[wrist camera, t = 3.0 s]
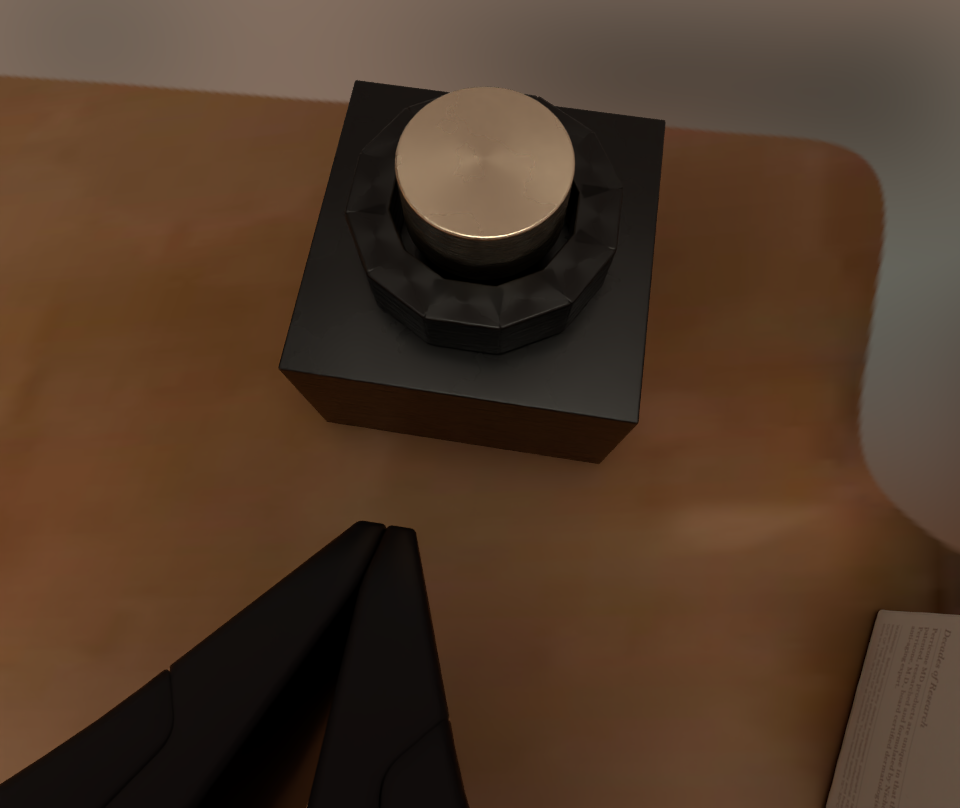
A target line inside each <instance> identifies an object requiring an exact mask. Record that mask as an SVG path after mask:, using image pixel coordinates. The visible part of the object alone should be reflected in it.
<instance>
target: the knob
mask: <svg viewBox="0 0 960 808" xmlns="http://www.w3.org/2000/svg"><path fill="white" fill-rule="evenodd" d="M395 174H396V180H397V185H398V190H399V195H400V200H401V204H402V209H403V214H404V219H405V224H406V227H407V230H408V233H409V235H410V237H411V239H412V241H413V243H414V244H415V246H416V247H417V249H418V250H419V251H420V252H421V253H422V254H423V255H424V256H425V257H426V258H427V259H428V260H429V261H431V262H432V263H433V264H435V265H436V266H438V267H439V268H441V269H443V270H445V271H447V272H449V273H451V274H454V275H457V276H460V277H464V278H469V279H477V280H493V279H500V278H505V277H509V276H512V275H515V274H518V273H520V272H523V271H525V270H526V269H528V268H530V267H532V266H533V265H535V264H536V263H537V262H539V261H540V260H541V259H542V258H543V257H544V256H545V255H546V254H547V253H548V252H549V251H550V250H551V249H552V247H553V246H554V245H555V243H556V241H557V239H558V237H559V236H560V233H561V230H562V228H563V224H564V219H565V215H566V210H567V206H568V202H569V197H570V193H571V188H572V184H573V179H574V175H575V153H574V149H573V145H572V142H571V140H570V137H569V135H568V133H567V131H566V129H565V128H564V126H563V124H562V123H561V122H560V121H559V119H558V118H557V117H556V116H555V115H554V114H553V113H552V112H551V111H550V110H549V109H548V108H547V107H545V106H544V105H543V104H541V103H540V102H538V101H536V100H535V99H533V98H531V97H529V96H527V95H524V94H522V93H519V92H516V91H512V90H509V89H504V88H499V87H472V88H466V89H461V90H457V91H453V92H451V93H448V94H445V95H443V96H441V97H439V98H437V99H435V100H433V101H432V102H430V103H429V104H427V105H426V106H424V107H423V108H422V109H421V110H420V111H419V112H417V113H416V115H415V116H414V117H413V118H412V119H411V120H410V121H409V123H408V124H407V126H406V127H405V129H404V131H403V133H402V135H401V137H400V139H399V142H398V145H397V148H396V154H395Z"/></svg>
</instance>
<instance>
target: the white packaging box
mask: <svg viewBox="0 0 960 808" xmlns="http://www.w3.org/2000/svg"><path fill="white" fill-rule="evenodd" d="M826 808H960V615H949V614H936V613H921V612H902V611H888V610H880V611H879V612H878V615H877V619H876V621H875V625H874V629H873V632H872V636H871V639H870V643H869V646H868V650H867V654H866V658H865V661H864V666H863V669H862V673H861V677H860V680H859V684H858V687H857V690H856V694H855V698H854V703H853V707H852V710H851V714H850V717H849V721H848V724H847V728H846V732H845V736H844V739H843V743H842V748H841V751H840V755H839V758H838V762H837V766H836V770H835V774H834V778H833V782H832V786H831V789H830V792H829V796H828V800H827V804H826Z"/></svg>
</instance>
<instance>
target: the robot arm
mask: <svg viewBox="0 0 960 808" xmlns="http://www.w3.org/2000/svg"><path fill="white" fill-rule="evenodd" d="M307 804H308V805H307ZM306 806H307V808H469V804H468V801H467V797H466V794H465V790H464V786H463V781H462V777H461V772H460V768H459V763H458V759H457V754H456V749H455V744H454V739H453V733H452V728H451V722H450V721H449V713H448V707H447V702H446V696H445V691H444V685H443V679H442V674H441V668H440V663H439V657H438V652H437V646H436V641H435V635H434V630H433V624H432V619H431V613H430V608H429V602H428V597H427V591H426V586H425V580H424V574H423V569H422V563H421V558H420V552H419V547H418V541H417V536H416V532H415V530H413V529H411V528H405V527H399V526H393V525H392V526H389V527H387V528H386V526H385V525H384V524H381V523H374V522H368V521H358V522H356V523H355V524H354V525H352V526H351V527H350V528H348V529H347V530H346V531H344V532H343V533H342V534H341V535H339V536H338V537H337V538H335V539H334V540H333V541H331V542H330V543H329V544H328V545H326V546H325V547H324V548H322V549H321V550H320V551H318V552H317V553H316V554H315V555H313V556H312V557H311V558H309V559H308V560H307V561H305V562H304V563H303V564H302V565H300V566H299V567H298V568H296V569H295V570H294V571H292V572H291V573H290V574H289V575H287V576H286V577H285V578H283V579H282V580H281V581H279V582H278V583H277V584H276V585H274V586H273V587H272V588H270V589H269V590H268V591H267V592H265V593H264V594H263V595H261V596H260V597H259V598H257V599H256V600H255V601H254V602H252V603H251V604H250V605H248V606H247V607H246V608H244V609H243V610H242V611H241V612H239V613H238V614H237V615H235V616H234V617H233V618H231V619H230V620H229V621H228V622H226V623H225V624H224V625H222V626H221V627H220V628H218V629H217V630H216V631H215V632H213V633H212V634H211V635H209V636H208V637H207V638H205V639H204V640H203V641H202V642H200V643H199V644H198V645H196V646H195V647H194V648H192V649H191V650H190V651H189V652H187V653H186V654H185V655H183V656H182V657H181V658H179V659H178V660H177V661H176V662H174V663H173V664H172V665H171V666H170V671H169V670H164V671H162V672H161V673H160V674H158V675H157V676H156V677H154V678H153V679H152V680H151V681H149V682H148V683H147V684H145V685H144V686H143V687H141V688H140V689H139V690H137V691H136V692H135V693H133V694H132V695H131V696H129V697H128V698H127V699H125V700H124V701H122V702H121V703H120V704H118V705H117V706H116V707H114V708H113V709H112V710H110V711H109V712H108V713H106V714H105V715H103V716H102V717H101V718H99V719H98V720H97V721H95V722H94V723H92V724H91V725H89V726H88V727H86V728H85V729H83V730H82V731H80V732H79V733H77V734H76V735H74V736H73V737H71V738H70V739H68V740H67V741H65V742H64V743H63V744H61V745H60V746H58V747H57V748H55V749H54V750H52V751H51V752H49V753H48V754H46V755H45V756H43V757H42V758H40V759H38V760H37V761H35V762H34V763H32V764H31V765H29V766H28V767H26V768H25V769H23V770H21V771H20V772H18V773H17V774H15V775H14V776H12V777H11V778H9V779H8V780H6V781H4V782H3V783H1V784H0V808H306Z"/></svg>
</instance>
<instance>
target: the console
mask: <svg viewBox="0 0 960 808" xmlns="http://www.w3.org/2000/svg"><path fill="white" fill-rule="evenodd" d="M448 93H450V92H442V91H435V90H427V89H419V88H412V87H404V86H396V85H389V84H380V83H373V82H365V81H358V80H356V81H355V83H354V87H353V91H352V95H351V98H350V102H349V106H348V110H347V113H346V117H345V121H344V125H343V128H342V132H341V136H340V139H339V143H338V147H337V151H336V154H335V158H334V162H333V166H332V169H331V173H330V177H329V181H328V184H327V188H326V192H325V196H324V199H323V203H322V207H321V211H320V214H319V218H318V222H317V225H316V229H315V233H314V237H313V240H312V244H311V248H310V252H309V255H308V259H307V263H306V267H305V270H304V274H303V278H302V282H301V285H300V289H299V293H298V297H297V300H296V304H295V308H294V311H293V315H292V319H291V323H290V326H289V330H288V334H287V338H286V341H285V345H284V349H283V353H282V356H281V360H280V364H279V370H280V371H281V372H282V373H283V374H284V375H285V376H286V377H287V378H288V379H289V381H290V382H291V383H292V384H293V385H294V386H295V387H296V388H297V389H298V390H299V391H300V393H301V394H302V395H303V396H304V397H305V398H306V399H307V400H308V401H309V402H310V403H311V405H312V406H313V407H314V408H315V409H316V410H317V411H318V412H319V413H320V414H321V415H322V417H323V418H324V419H325V420H326V421H327V422H334V423H340V424H347V425H353V426H359V427H366V428H372V429H379V430H385V431H391V432H398V433H404V434H411V435H417V436H423V437H430V438H436V439H443V440H449V441H455V442H462V443H468V444H475V445H481V446H488V447H494V448H500V449H507V450H513V451H520V452H526V453H532V454H539V455H545V456H552V457H558V458H564V459H571V460H577V461H584V462H590V463H597V464H600V463H601V462H602V461H603V460H604V458H605V457H606V456H607V455H608V454H609V453H610V452H611V451H612V450H613V449H614V448H615V447H616V446H617V445H618V444H619V443H620V442H621V441H622V440H623V439H624V437H625V436H626V435H627V434H628V433H629V432H630V431H631V430H632V429H633V428H634V427H635V426H636V425H637V424H638V421H639V410H640V399H641V388H642V377H643V366H644V355H645V344H646V333H647V322H648V311H649V300H650V288H651V277H652V266H653V255H654V244H655V233H656V222H657V211H658V200H659V189H660V178H661V167H662V156H663V144H664V133H665V121H664V120H658V119H650V118H642V117H635V116H627V115H619V114H612V113H604V112H596V111H588V110H581V109H573V108H565V107H558V106H553V105H552V104H550V103H549V102H547V101H546V100H544V99H543V98H541V97H537V96H534V95H527V94H524V95H527V96H529V97H531V98H533V99H535V100H536V101H538V102H540V103H541V104H543V105H544V106H545V107H547V108H548V109H549V110H550V111H551V112H552V113H553V114H554V115H555V116H556V117H557V118H558V119H559V121H560V122H561V123H562V124H563V126H564V128H565V129H566V131H567V133H568V135H569V137H570V140H571V142H572V145H573V149H574V153H575V175H574V179H573V184H572V188H571V193H570V197H569V202H568V206H567V210H566V215H565V219H564V224H563V228H562V230H561V233H560V236H559V237H558V239H557V241H556V243H555V245H554V246H553V247H552V249H551V250H550V251H549V252H548V253H547V254H546V255H545V256H544V257H543V258H542V259H541V260H540V261H539V262H537V263H536V264H535V265H533V266H532V267H530V268H528V269H526V270H525V271H523V272H520V273H518V274H515V275H512V276H509V277H505V278H500V279H493V280H477V279H469V278H464V277H460V276H457V275H454V274H451V273H449V272H447V271H445V270H443V269H441V268H439V267H438V266H436V265H435V264H433V263H432V262H431V261H429V260H428V259H427V258H426V257H425V256H424V255H423V254H422V253H421V252H420V251H419V250H418V249H417V247H416V246H415V244H414V243H413V241H412V239H411V237H410V235H409V233H408V230H407V227H406V224H405V219H404V214H403V209H402V204H401V200H400V195H399V190H398V185H397V180H396V174H395V154H396V148H397V145H398V142H399V139H400V137H401V135H402V133H403V131H404V129H405V127H406V126H407V124H408V123H409V121H410V120H411V119H412V118H413V117H414V116H415V115H416V113H417V112H419V111H420V110H421V109H422V108H423V107H424V106H426V105H427V104H429V103H430V102H432V101H433V100H435V99H437V98H439V97H441V96H443V95H445V94H448Z"/></svg>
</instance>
